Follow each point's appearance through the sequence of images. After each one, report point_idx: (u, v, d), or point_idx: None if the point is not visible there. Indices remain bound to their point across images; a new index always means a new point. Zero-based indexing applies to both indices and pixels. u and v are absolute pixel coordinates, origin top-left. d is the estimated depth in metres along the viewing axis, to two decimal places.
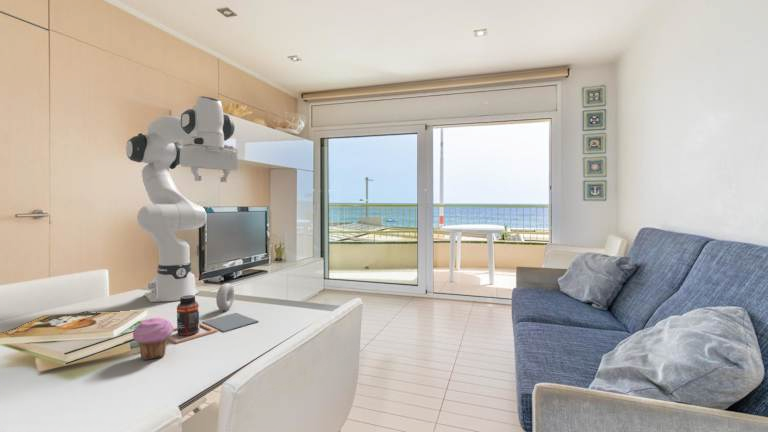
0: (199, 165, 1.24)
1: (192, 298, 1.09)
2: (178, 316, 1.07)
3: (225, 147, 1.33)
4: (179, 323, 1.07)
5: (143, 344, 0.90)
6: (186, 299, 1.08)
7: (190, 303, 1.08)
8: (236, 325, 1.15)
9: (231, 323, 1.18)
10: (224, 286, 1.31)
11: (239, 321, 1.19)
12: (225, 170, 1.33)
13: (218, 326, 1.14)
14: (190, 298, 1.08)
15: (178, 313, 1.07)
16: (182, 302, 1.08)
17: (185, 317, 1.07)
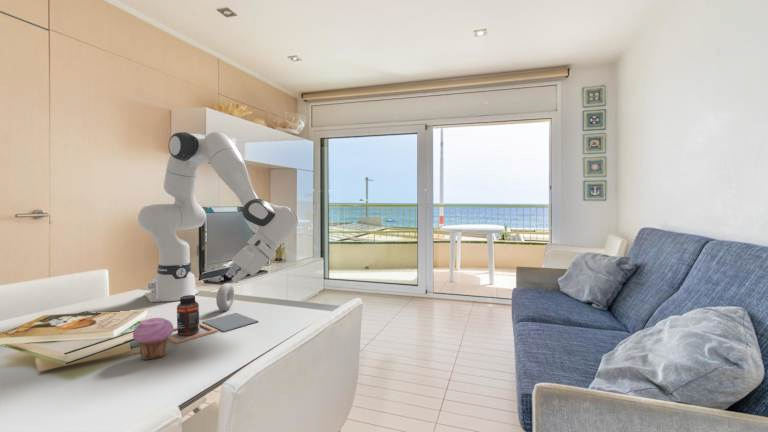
0: None
1: (192, 298, 1.09)
2: (178, 316, 1.07)
3: None
4: (179, 323, 1.07)
5: (143, 344, 0.90)
6: (186, 299, 1.08)
7: (190, 303, 1.08)
8: (236, 325, 1.15)
9: (231, 323, 1.18)
10: (224, 286, 1.31)
11: (239, 321, 1.19)
12: (238, 267, 1.22)
13: (218, 326, 1.14)
14: (190, 298, 1.08)
15: (178, 313, 1.07)
16: (182, 302, 1.08)
17: (185, 317, 1.07)
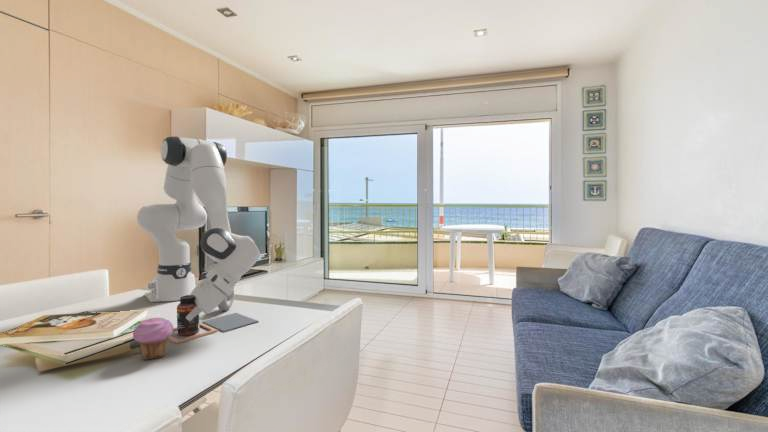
0: None
1: (192, 298, 1.09)
2: (178, 316, 1.07)
3: None
4: (179, 323, 1.07)
5: (143, 344, 0.90)
6: (186, 299, 1.08)
7: (190, 303, 1.08)
8: (236, 325, 1.15)
9: (231, 323, 1.18)
10: None
11: (239, 321, 1.19)
12: None
13: (218, 326, 1.14)
14: (190, 298, 1.08)
15: (178, 313, 1.07)
16: (182, 302, 1.08)
17: (185, 317, 1.07)
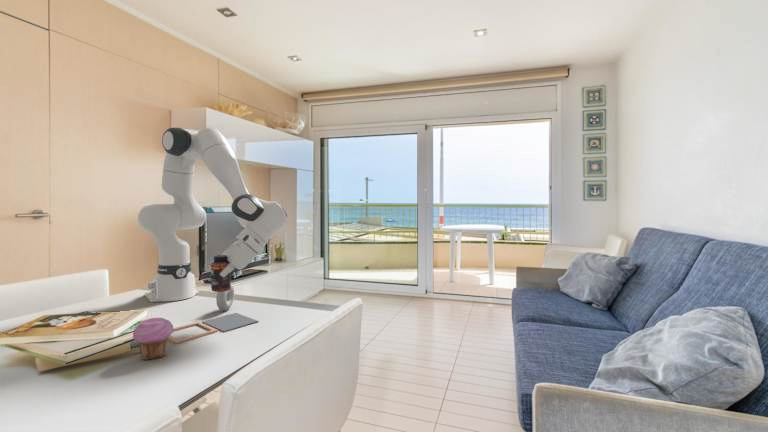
0: None
1: (225, 257, 1.16)
2: (212, 273, 1.14)
3: None
4: (213, 280, 1.14)
5: (143, 344, 0.90)
6: (220, 257, 1.15)
7: (223, 261, 1.15)
8: (236, 325, 1.15)
9: (231, 323, 1.18)
10: None
11: (239, 321, 1.19)
12: None
13: (218, 326, 1.14)
14: (223, 257, 1.15)
15: (212, 270, 1.14)
16: (216, 260, 1.15)
17: (219, 274, 1.14)
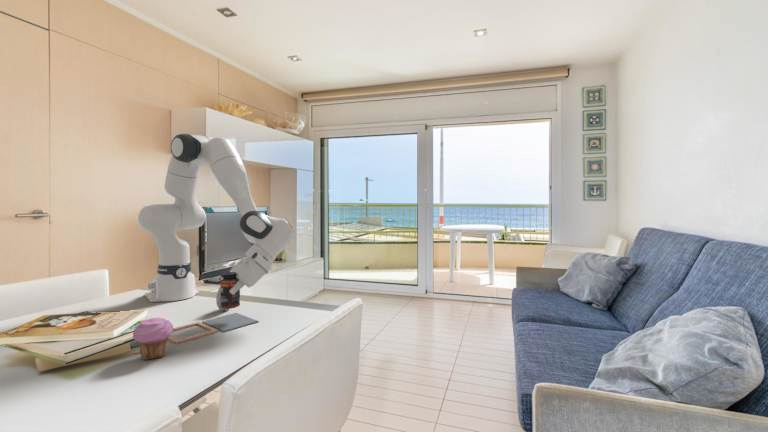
0: None
1: (234, 274, 1.18)
2: (222, 290, 1.17)
3: None
4: (223, 297, 1.17)
5: (143, 344, 0.90)
6: (229, 275, 1.17)
7: (232, 278, 1.18)
8: (236, 325, 1.15)
9: (231, 323, 1.18)
10: None
11: (239, 321, 1.19)
12: None
13: (218, 326, 1.14)
14: (232, 274, 1.18)
15: (222, 288, 1.17)
16: (225, 278, 1.17)
17: (228, 291, 1.16)
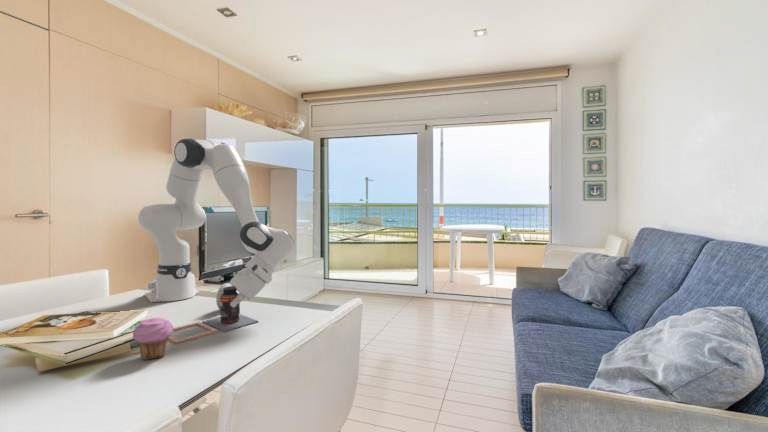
0: None
1: (234, 289, 1.19)
2: (222, 305, 1.17)
3: None
4: (223, 312, 1.17)
5: (143, 344, 0.90)
6: (229, 290, 1.17)
7: (232, 293, 1.18)
8: (236, 325, 1.15)
9: (231, 323, 1.18)
10: (224, 286, 1.31)
11: (239, 321, 1.19)
12: None
13: (218, 326, 1.14)
14: (232, 289, 1.18)
15: (222, 303, 1.17)
16: (225, 292, 1.17)
17: (228, 306, 1.17)
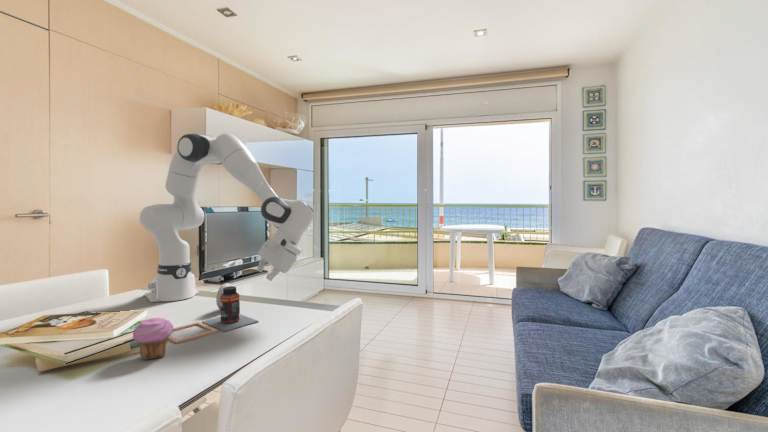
0: None
1: (234, 289, 1.19)
2: (222, 305, 1.17)
3: None
4: (223, 312, 1.17)
5: (143, 344, 0.90)
6: (229, 290, 1.17)
7: (232, 293, 1.18)
8: (236, 325, 1.15)
9: (231, 323, 1.18)
10: (224, 286, 1.31)
11: (239, 321, 1.19)
12: (266, 260, 1.33)
13: (218, 326, 1.14)
14: (232, 289, 1.18)
15: (222, 303, 1.17)
16: (225, 292, 1.17)
17: (228, 306, 1.17)
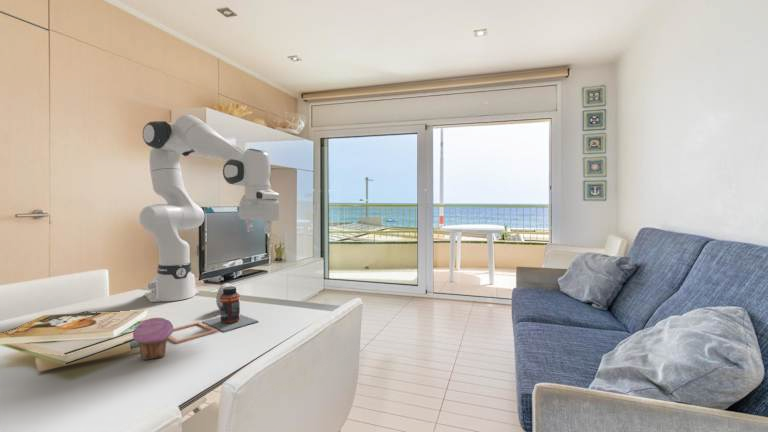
0: None
1: (234, 289, 1.19)
2: (222, 305, 1.17)
3: None
4: (223, 312, 1.17)
5: (143, 344, 0.90)
6: (229, 290, 1.17)
7: (232, 293, 1.18)
8: (236, 325, 1.15)
9: (231, 323, 1.18)
10: (224, 286, 1.31)
11: (239, 321, 1.19)
12: (251, 220, 1.33)
13: (218, 326, 1.14)
14: (232, 289, 1.18)
15: (222, 303, 1.17)
16: (225, 292, 1.17)
17: (228, 306, 1.17)
